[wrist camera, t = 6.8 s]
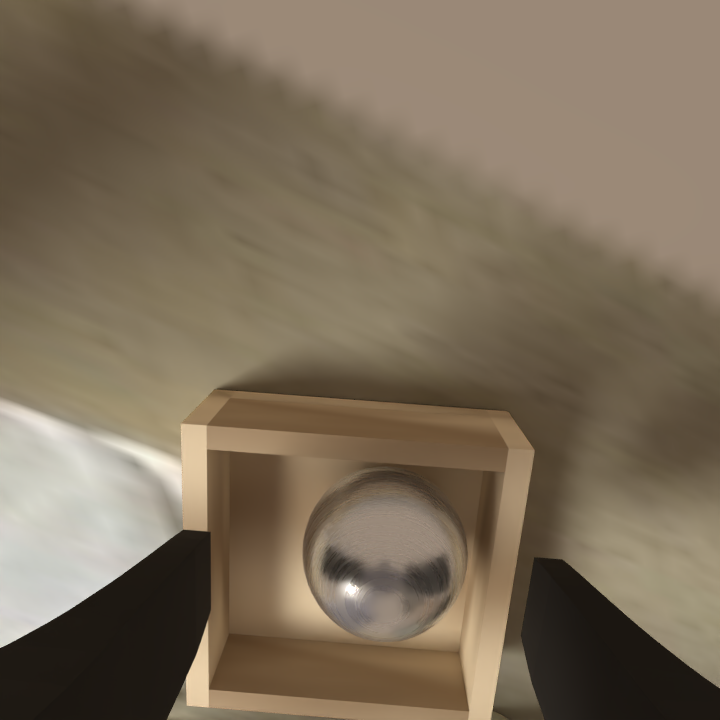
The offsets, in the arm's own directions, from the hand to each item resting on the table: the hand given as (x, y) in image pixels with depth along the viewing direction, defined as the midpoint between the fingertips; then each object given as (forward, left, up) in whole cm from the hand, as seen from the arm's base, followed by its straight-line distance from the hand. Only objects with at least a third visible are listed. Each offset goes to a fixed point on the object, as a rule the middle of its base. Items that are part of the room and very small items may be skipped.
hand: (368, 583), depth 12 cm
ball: (0, 0, -1) cm, 1 cm away
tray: (-1, 0, -4) cm, 4 cm away
